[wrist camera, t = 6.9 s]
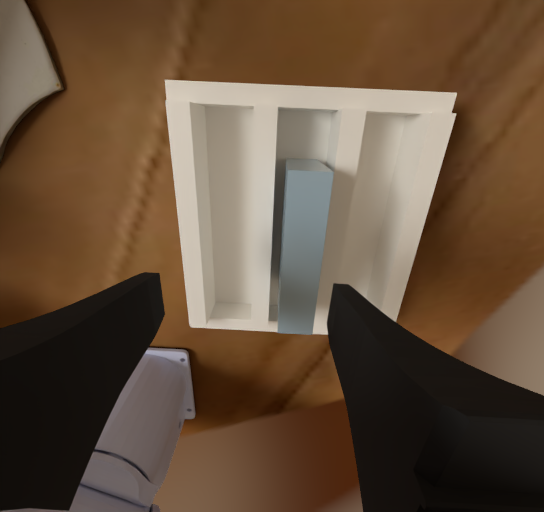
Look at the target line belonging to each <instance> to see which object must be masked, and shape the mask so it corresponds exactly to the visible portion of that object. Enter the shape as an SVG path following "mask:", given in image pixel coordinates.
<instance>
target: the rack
mask: <svg viewBox="0 0 544 512" xmlns="http://www.w3.org/2000/svg"><path fill="white" fill-rule="evenodd" d="M165 87H166V97H167V100H165V102H166V111H167V120H168V130H169V139H170V148H171V157H172V167H173V176H174V185H175V195H176V204H177V213H178V222H179V232H180V241H181V250H182V260H183V269H184V278H185V287H186V297H187V306H188V315H189V325H190V326H191V327H195V328H214V329H233V330H252V331H271V332H278V278H279V261H280V244H281V227H282V210H283V193H284V176H285V159H286V158H298V159H317V160H318V161H320V162H321V163H322V164H324V165H325V166H326V167H328V168H329V169H331V170H332V171H333V172H334V175H333V183H332V190H331V198H330V205H329V213H328V220H327V228H326V236H325V243H324V251H323V258H322V266H321V273H320V281H319V288H318V296H317V303H316V311H315V318H314V326H313V333H312V334H328V330H327V318H328V312H329V307H330V301H331V295H332V289H333V283H337V284H349V285H350V286H351V287H353V288H354V289H355V290H356V291H358V292H359V293H360V294H361V295H362V296H363V297H365V298H366V299H367V300H368V301H369V302H371V303H372V304H373V305H374V306H375V307H377V308H378V309H379V310H380V311H382V312H383V313H384V314H385V315H387V316H388V317H389V318H391V319H392V320H393V321H395V322H396V320H397V316H398V313H399V310H400V306H401V303H402V299H403V296H404V292H405V289H406V286H407V282H408V279H409V275H410V272H411V268H412V265H413V261H414V258H415V255H416V251H417V248H418V244H419V241H420V237H421V234H422V231H423V227H424V224H425V220H426V217H427V213H428V210H429V207H430V203H431V200H432V196H433V193H434V189H435V186H436V182H437V179H438V176H439V172H440V169H441V165H442V162H443V158H444V155H445V152H446V148H447V145H448V141H449V138H450V134H451V131H452V128H453V124H454V121H455V117H456V113H452V110H453V106H454V103H455V99H456V96H457V93H449V92H426V91H404V90H381V89H359V88H337V87H314V86H292V85H269V84H247V83H225V82H202V81H180V80H165Z"/></svg>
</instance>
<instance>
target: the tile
mask: <svg viewBox="0 0 544 512" xmlns="http://www.w3.org/2000/svg"><path fill="white" fill-rule="evenodd" d="M333 175H334V172H333V171H332V170H331V169H329V168H328V167H326V166H325V165H324V164H322V163H321V162H320V161H318V160H317V159H298V158H286V159H285V176H284V193H283V210H282V227H281V244H280V261H279V278H278V333H289V334H309V335H312V333H313V326H314V318H315V311H316V303H317V296H318V288H319V281H320V273H321V266H322V258H323V251H324V243H325V236H326V228H327V220H328V213H329V205H330V198H331V190H332V183H333Z"/></svg>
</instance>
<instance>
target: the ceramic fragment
mask: <svg viewBox="0 0 544 512" xmlns="http://www.w3.org/2000/svg"><path fill="white" fill-rule="evenodd" d="M61 90H64V87H63V84H62V81H61V78H60V76H59V73H58V71H57V68H56V66H55V63H54V61H53V58H52V56H51V53H50V51H49V48H48V46H47V44H46V42H45V39H44V37H43V35H42V33H41V30H40V28H39V26H38V24H37V22H36V21H35V19H34V16H33V14H32V13H31V11H30V9H29V7H28V5H27V3H26V1H25V0H0V162H1V159H2V157H3V154H4V148H5V145H6V143H7V141H8V139H9V137H10V136H11V135H12V133H13V131H14V129H15V127H16V126H17V125H18V124H19V122H21V121H22V119H23V118H24V117H25V116H26V115H27V113H28V112H30V111H31V110H32V109H33V108H34V107H35V106H37V104H38V103H40V102H41V101H42V100H44V99H46V98H47V97H49V96H50V95H52V94H54V93H56V92H59V91H61Z"/></svg>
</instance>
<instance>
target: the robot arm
mask: <svg viewBox="0 0 544 512" xmlns="http://www.w3.org/2000/svg"><path fill="white" fill-rule="evenodd" d="M164 315H165V312H164V304H163V297H162V290H161V283H160V275H159V273H147V272H144V273H141V274H138V275H136V276H134V277H131V278H129V279H127V280H125V281H122V282H120V283H118V284H116V285H114V286H112V287H110V288H107V289H105V290H103V291H101V292H99V293H97V294H94V295H92V296H90V297H87V298H85V299H83V300H80V301H78V302H76V303H73V304H71V305H69V306H66V307H64V308H61V309H58V310H56V311H53V312H50V313H48V314H45V315H42V316H39V317H36V318H33V319H30V320H27V321H24V322H20V323H17V324H13V325H10V326H7V327H3V328H0V512H160V509H159V506H157V505H155V504H152V502H153V499H154V496H155V494H156V493H157V491H158V490H159V489H160V487H161V485H162V483H163V481H164V479H165V477H166V474H167V471H168V468H169V465H170V462H171V459H172V456H173V453H174V450H175V447H176V444H177V441H178V438H179V435H180V432H181V429H182V426H183V423H184V420H185V419H193V418H195V414H196V412H195V404H194V395H193V386H192V378H191V369H190V361H189V353H188V352H187V351H186V350H183V349H165V348H148V347H149V346H150V344H151V342H152V341H153V339H154V337H155V336H156V334H157V331H158V329H159V327H160V325H161V322H162V320H163V317H164ZM327 330H328V337H329V344H330V348H331V352H332V355H333V359H334V362H335V366H336V369H337V373H338V376H339V380H340V383H341V387H342V390H343V394H344V398H345V402H346V406H347V411H348V417H349V422H350V428H351V433H352V439H353V445H354V452H355V458H356V464H357V471H358V478H359V484H360V491H361V498H362V504H363V512H544V396H543V395H541V394H538V393H535V392H533V391H530V390H528V389H525V388H522V387H519V386H517V385H515V384H512V383H509V382H507V381H504V380H502V379H499V378H497V377H495V376H492V375H490V374H488V373H486V372H483V371H481V370H479V369H477V368H475V367H473V366H470V365H468V364H466V363H464V362H462V361H460V360H458V359H456V358H454V357H452V356H450V355H449V354H447V353H445V352H443V351H441V350H439V349H437V348H435V347H434V346H432V345H430V344H428V343H427V342H425V341H423V340H422V339H420V338H419V337H417V336H415V335H414V334H412V333H411V332H409V331H408V330H406V329H405V328H403V327H402V326H400V325H399V324H398V323H396V322H395V321H393V320H392V319H391V318H389V317H388V316H387V315H385V314H384V313H383V312H382V311H380V310H379V309H378V308H377V307H375V306H374V305H373V304H372V303H371V302H369V301H368V300H367V299H366V298H365V297H363V296H362V295H361V294H360V293H359V292H358V291H356V290H355V289H354V288H353V287H351V286H350V285H349V284H337V283H333V289H332V295H331V301H330V307H329V312H328V318H327ZM182 358H184V359H182Z"/></svg>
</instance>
